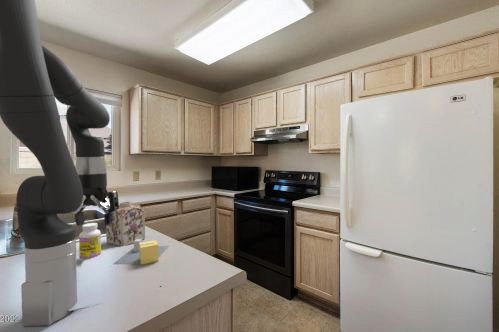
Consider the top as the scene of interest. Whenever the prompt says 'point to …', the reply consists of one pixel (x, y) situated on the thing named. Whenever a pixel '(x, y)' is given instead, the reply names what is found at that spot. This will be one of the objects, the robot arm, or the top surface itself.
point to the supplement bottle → (89, 241)
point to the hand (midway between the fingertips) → (94, 224)
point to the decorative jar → (126, 225)
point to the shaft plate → (137, 254)
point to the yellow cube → (148, 252)
